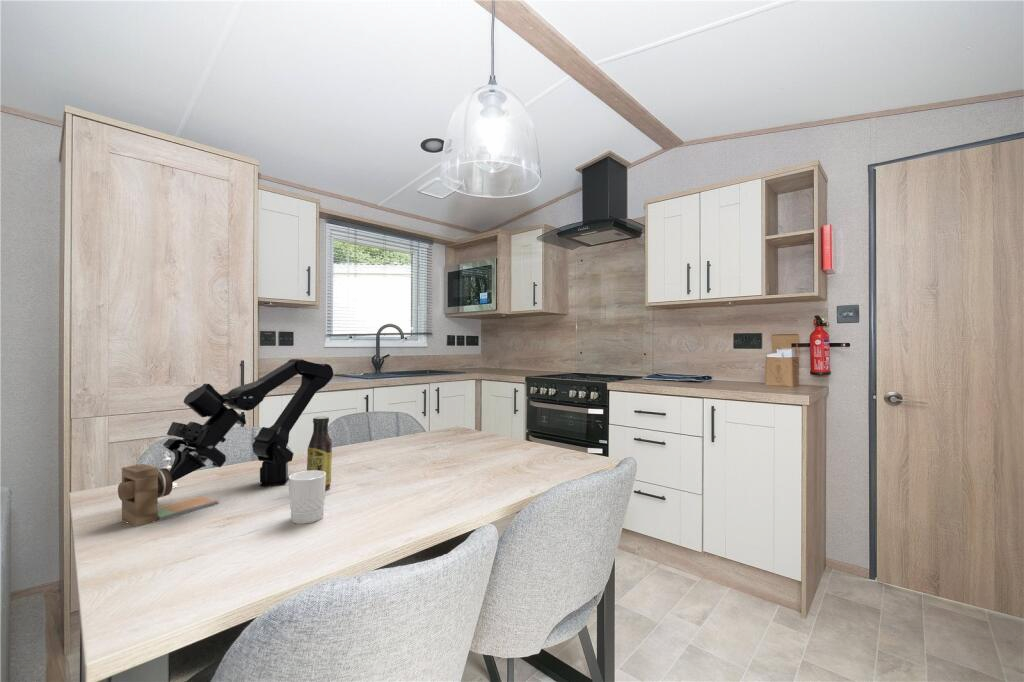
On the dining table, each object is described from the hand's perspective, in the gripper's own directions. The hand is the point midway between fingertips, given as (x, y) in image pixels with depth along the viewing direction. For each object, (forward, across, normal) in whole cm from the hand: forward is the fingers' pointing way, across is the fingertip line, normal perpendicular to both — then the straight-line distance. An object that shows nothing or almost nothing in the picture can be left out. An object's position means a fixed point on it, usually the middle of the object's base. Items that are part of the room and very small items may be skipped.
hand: (166, 482), depth 111 cm
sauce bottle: (-16, +16, +26) cm, 35 cm away
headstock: (+9, 0, +1) cm, 9 cm away
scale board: (+3, 0, +7) cm, 8 cm away
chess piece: (-2, -22, +12) cm, 25 cm away
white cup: (-5, +32, +15) cm, 36 cm away
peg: (+5, 0, -1) cm, 5 cm away
